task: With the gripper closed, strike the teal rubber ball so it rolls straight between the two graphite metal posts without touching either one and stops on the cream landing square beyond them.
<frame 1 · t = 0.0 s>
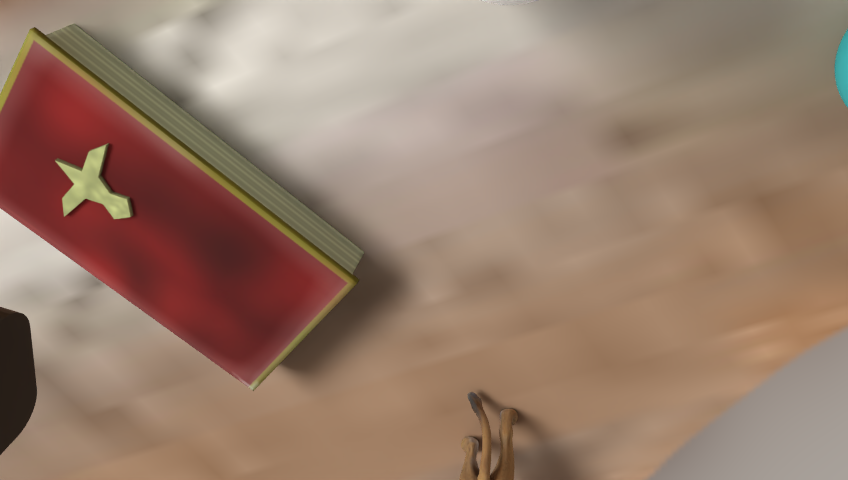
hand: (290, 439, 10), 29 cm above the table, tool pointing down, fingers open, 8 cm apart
lion figurine: (505, 472, 51), on the table
hardcover book: (186, 199, 46), on the table
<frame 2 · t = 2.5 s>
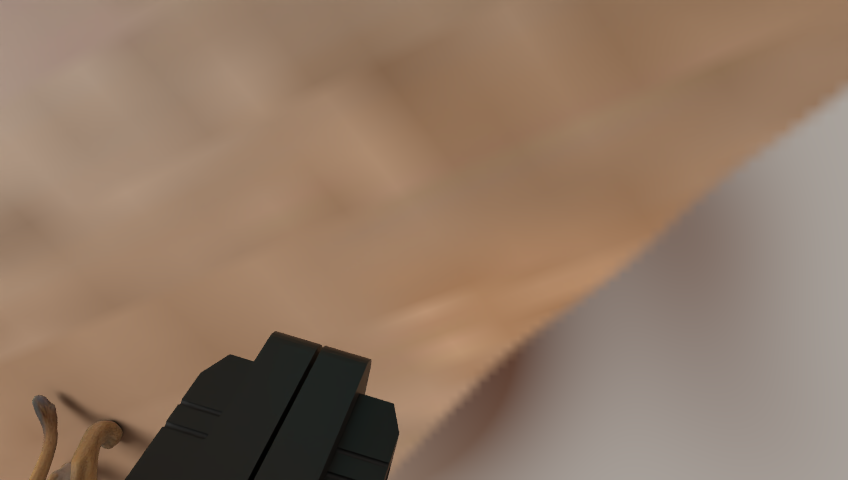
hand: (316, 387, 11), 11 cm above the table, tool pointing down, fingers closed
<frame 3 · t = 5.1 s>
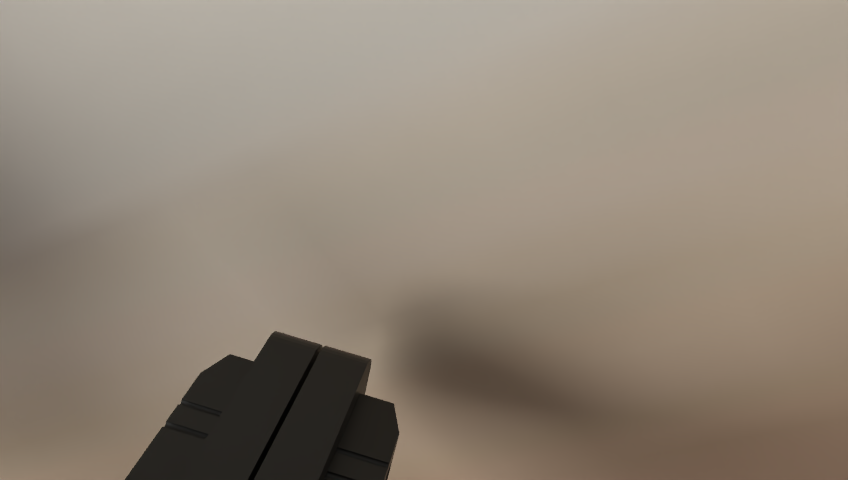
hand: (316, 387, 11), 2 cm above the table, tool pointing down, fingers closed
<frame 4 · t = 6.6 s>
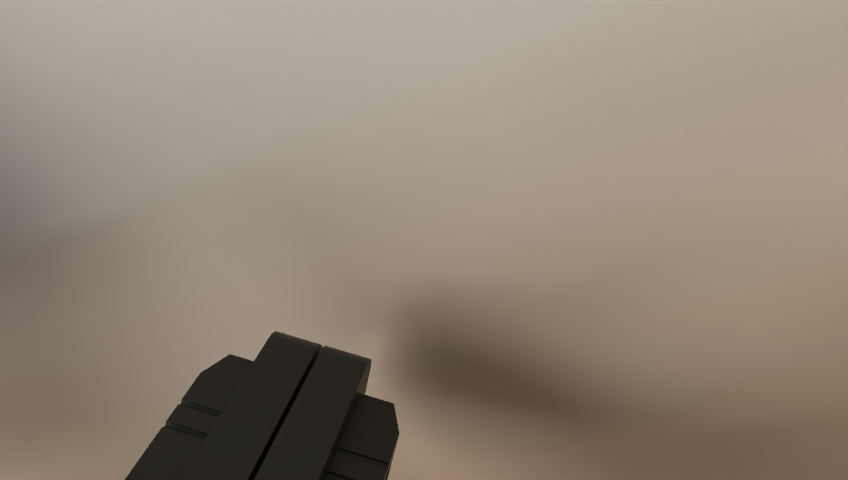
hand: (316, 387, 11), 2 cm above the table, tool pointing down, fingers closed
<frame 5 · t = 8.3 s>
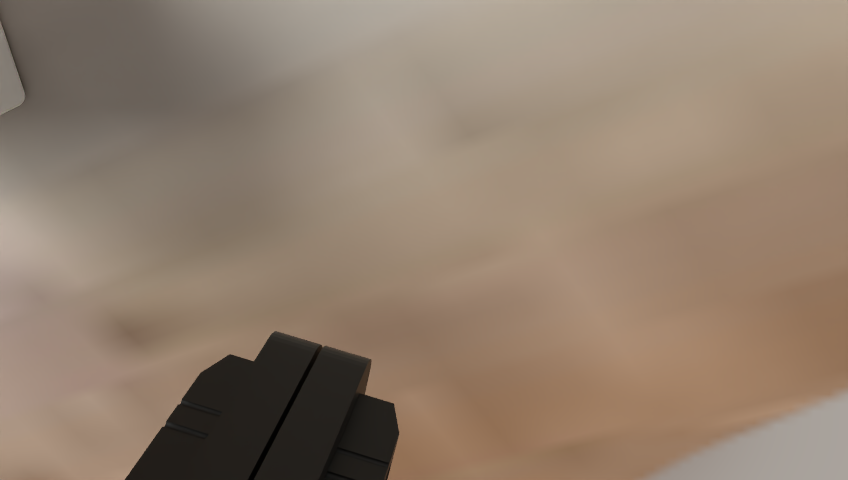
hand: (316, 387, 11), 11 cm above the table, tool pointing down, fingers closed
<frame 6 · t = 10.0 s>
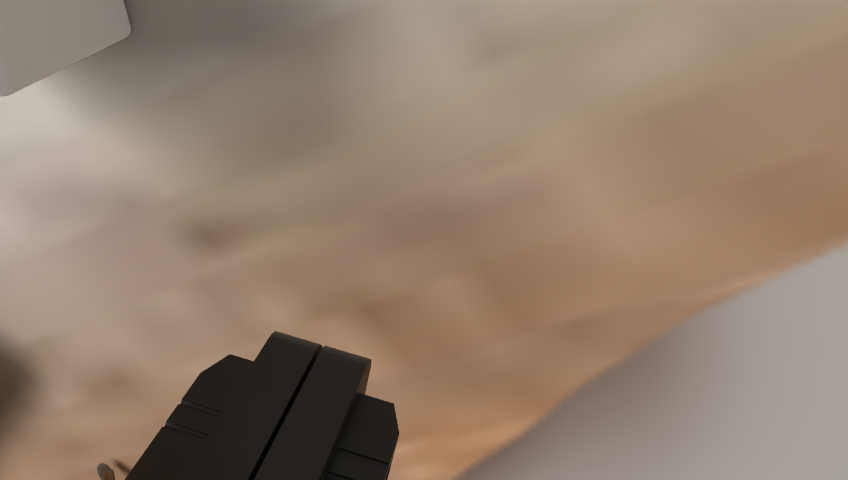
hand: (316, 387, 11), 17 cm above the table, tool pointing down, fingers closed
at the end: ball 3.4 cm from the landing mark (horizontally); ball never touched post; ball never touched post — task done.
